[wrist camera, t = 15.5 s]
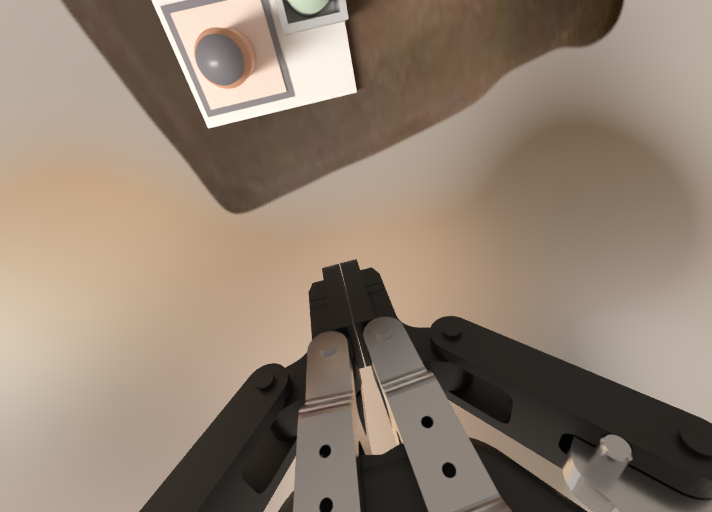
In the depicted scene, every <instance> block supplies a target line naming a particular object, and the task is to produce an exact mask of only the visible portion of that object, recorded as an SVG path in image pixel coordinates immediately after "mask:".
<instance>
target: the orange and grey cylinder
mask: <svg viewBox="0 0 712 512" xmlns="http://www.w3.org/2000/svg"><path fill="white" fill-rule="evenodd" d="M194 57H195V61H196V64H197V67H198V69H199V70H200V72H201V74H202V75H203V76H204V77H205V78H206V79H207V80H208V81H209V82H210V83H212V84H213V85H215V86H217V87H220V88H224V89H232V88H236V87H238V86H240V85H241V84H243V83H244V82H245V80H246V79H247V78H248V77H249V76H250V75H251V73H252V72H253V70H254V68H255V65H256V53H255V50H254V47H253V45H252V43H251V42H250V40H249V39H248V38H247V37H246V36H245V35H244V34H242V33H241V32H239V31H237V30H234V29H228V28H220V27H213V28H208V29H206V30H204V31H203V32H202V33H201V34H200V35H199V36H198V38H197V39H196V42H195V45H194Z"/></svg>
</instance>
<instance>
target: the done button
mask: <svg viewBox="0 0 712 512" xmlns="http://www.w3.org/2000/svg"><path fill="white" fill-rule="evenodd" d="M286 1H287V3H288V5H289V6H290V8H291V9H292V10H293V11H294V12H295V13H297V14H299V15H301V16H304V17H312V16H315V15H317V14H318V13H320V12H321V11H322V9H323V8H324V7H325V5H326V4H327V3H328V1H329V0H286Z"/></svg>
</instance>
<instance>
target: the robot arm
mask: <svg viewBox="0 0 712 512" xmlns="http://www.w3.org/2000/svg"><path fill="white" fill-rule="evenodd" d="M340 265H341V269H342V273H341V270H340V266H339V264H336V265H333V266H329V267H325V268H322V272H323V278H324V280H323V281H319V282H315V283H313V284H312V286H311V288H310V290H309V302H310V303H309V304H310V317H311V331H312V341H311V342H310V344H309V346H308V350H307V353H306V354H305V355H304V356H303V357H302V358H301V359H300V360H298V361H297V362H295V363H293V364H291V365H290V366H288V367H286V368H284V367H283V366H282V365H279V364H274V363H273V364H267V365H264V366H262V367H260V368H259V369H257V370H256V371H255V372H254V373H252V375H251V376H250V377H249V378H248V379H247V381H246V382H245V383H244V384H243V386H242V387H241V388H240V389H239V390H238V392H237V393H236V394H235V395H234V397H233V398H232V399H231V400H230V401H229V403H228V404H227V405H226V406H225V407H224V409H223V410H222V411H221V412H220V414H219V415H218V416H217V417H216V419H215V420H214V421H213V422H212V423H211V425H210V426H209V427H208V429H206V431H205V432H204V433H203V434H202V436H201V437H200V438H199V439H198V441H197V442H196V443H195V444H194V445H193V447H192V448H191V449H190V450H189V452H188V453H187V454H186V455H185V456H184V458H183V459H182V460H181V461H180V462H179V464H178V465H177V466H176V467H175V469H174V470H173V471H172V472H171V474H170V475H169V476H168V477H167V478H166V480H165V481H164V482H163V483H162V485H161V486H160V487H159V488H158V489H157V491H156V492H155V493H154V494H153V496H152V497H151V498H150V499H149V500H148V502H147V503H146V504H145V505H144V506H143V508H142V509H141V510H140V511H139V512H263V511H264V510H265V508H266V506H267V504H268V503H269V501H270V499H271V497H272V496H273V494H274V492H275V491H276V489H277V487H278V485H279V484H280V482H281V480H282V479H283V477H284V475H285V474H286V472H287V470H288V468H289V467H290V465H291V463H292V461H293V460H294V458H295V456H296V467H295V485H294V486H295V487H294V491H293V492H292V493H291V494H290V496H289V497H288V498H287V499H286V501H285V502H284V504H283V505H282V507H281V508H280V510H279V511H278V512H587V511H586V510H584V509H583V508H581V507H580V506H578V505H577V504H576V503H574V502H573V501H571V500H570V499H568V498H567V497H565V496H564V495H562V494H561V493H560V492H558V491H557V490H555V489H554V488H552V487H551V486H549V485H548V484H547V483H545V482H544V481H542V480H540V479H539V478H538V477H536V476H535V475H534V474H532V473H531V472H529V471H528V470H526V469H525V468H523V467H522V466H520V465H519V464H518V463H516V462H515V461H513V460H512V459H510V458H509V457H507V456H506V455H505V454H503V453H502V452H500V451H499V450H497V449H496V448H494V447H492V446H490V445H488V444H486V443H484V442H481V441H479V440H477V439H473V438H469V437H468V436H467V434H466V432H465V430H464V429H463V427H462V425H461V423H460V421H459V419H458V417H457V416H456V414H455V412H454V410H453V408H452V406H451V405H450V403H449V401H448V400H450V401H451V402H453V403H455V404H456V405H458V406H460V407H461V408H463V409H464V410H466V411H468V412H469V413H471V414H473V415H474V416H476V417H478V418H480V419H481V420H483V421H484V422H486V423H487V424H489V425H491V426H492V427H494V428H496V429H497V430H499V431H501V432H503V433H504V434H506V435H507V436H509V437H511V438H512V439H514V440H516V441H517V442H519V443H521V444H522V445H524V446H525V447H527V448H529V449H530V450H532V451H534V452H536V453H537V454H539V455H540V456H542V457H544V458H545V459H547V460H548V461H550V462H552V463H553V464H555V465H557V466H558V467H560V468H562V469H563V474H564V478H565V481H566V483H567V485H568V487H569V489H570V490H571V492H572V493H573V494H574V495H575V497H576V498H578V500H579V501H581V502H582V503H583V504H584V505H586V506H587V507H588V508H589V509H591V510H592V511H593V512H712V424H711V423H709V422H708V421H706V420H704V419H702V418H700V417H697V416H695V415H693V414H690V413H688V412H685V411H683V410H681V409H678V408H676V407H673V406H671V405H669V404H666V403H664V402H662V401H659V400H657V399H654V398H652V397H649V396H647V395H645V394H642V393H640V392H637V391H635V390H633V389H630V388H628V387H625V386H623V385H621V384H618V383H616V382H614V381H611V380H609V379H606V378H604V377H601V376H599V375H596V374H594V373H592V372H590V371H587V370H585V369H582V368H580V367H578V366H575V365H573V364H570V363H568V362H565V361H563V360H561V359H558V358H556V357H554V356H551V355H549V354H546V353H544V352H541V351H539V350H537V349H534V348H532V347H530V346H527V345H525V344H522V343H520V342H517V341H515V340H513V339H510V338H508V337H505V336H503V335H501V334H498V333H496V332H493V331H491V330H489V329H486V328H484V327H482V326H479V325H477V324H474V323H472V322H470V321H467V320H465V319H462V318H459V317H455V316H446V317H442V318H440V319H438V320H436V321H435V322H434V323H433V324H432V326H431V328H416V327H411V326H408V325H406V324H404V323H402V322H401V321H400V320H399V319H398V318H397V316H396V314H395V311H394V309H393V306H392V304H391V301H390V299H389V296H388V294H387V291H386V289H385V287H384V284H383V281H382V279H381V276H380V274H379V273H378V272H377V271H375V270H374V269H373V268H368V269H364V270H360V269H359V266H358V262H357V260H356V259H355V260H351V261H348V262H344V263H340ZM342 274H343V277H342ZM343 278H344V281H343ZM344 282H345V284H344ZM345 286H346V288H345ZM356 332H357V333H356ZM357 335H358V337H357ZM358 338H359V341H358ZM359 342H360V345H359ZM360 346H361V349H362V353H363V357H364V360H365V363H366V366H370V365H371V367H372V370H373V374H374V378H375V381H376V385H377V388H378V391H379V394H380V397H381V399H382V402H383V405H384V408H385V411H386V414H387V417H388V420H389V423H390V425H391V428H392V431H393V434H394V437H395V440H396V444H397V446H396V447H394V448H393V449H391V450H389V451H388V452H386V453H384V454H382V455H372V452H371V448H370V443H369V436H368V428H367V421H366V413H365V405H364V397H363V390H362V386H361V385H362V380H361V375H360V371H359V369H360V368H364V362H363V358H362V354H361V350H360Z"/></svg>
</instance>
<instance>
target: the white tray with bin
mask: <svg viewBox="0 0 712 512" xmlns="http://www.w3.org/2000/svg"><path fill="white" fill-rule="evenodd" d="M152 2H153V5H154V7H155V9H156V11H157V14H158V16H159V18H160V20H161V23H162V25H163V27H164V30H165V32H166V34H167V36H168V39H169V41H170V43H171V45H172V48H173V50H174V52H175V54H176V57H177V59H178V61H179V63H180V66H181V68H182V70H183V72H184V75H185V77H186V79H187V82H188V84H189V86H190V88H191V91H192V93H193V95H194V97H195V100H196V102H197V104H198V106H199V109H200V111H201V113H202V115H203V118H204V120H205V122H206V124H207V127H208V128H212V127H216V126H220V125H224V124H228V123H232V122H236V121H241V120H245V119H249V118H253V117H257V116H261V115H265V114H269V113H274V112H278V111H282V110H286V109H290V108H294V107H298V106H302V105H307V104H311V103H315V102H319V101H323V100H327V99H331V98H335V97H340V96H344V95H348V94H352V93H356V92H357V90H356V84H355V78H354V73H353V67H352V61H351V55H350V49H349V43H348V37H347V31H346V26H345V21H346V20H348V19H349V18H348V12H347V6H346V0H329V1H328V3H327V4H326V5H325V7H324V8H323V9H322V11H321V12H320V13H318V14H317V15H315V16H312V17H304V16H301V15H299V14H297V13H295V12H294V11H293V10H292V9H291V8H290V6H289V5H288V3H287V1H286V0H152ZM213 27H220V28H228V29H234V30H237V31H239V32H241V33H242V34H244V35H245V36H246V37H247V38H248V39H249V40H250V42H251V43H252V45H253V47H254V50H255V53H256V65H255V68H254V70H253V72H252V73H251V75H250V76H249V77H248V78H247V79H246V80H245V82H244V83H243V84H241V85H240V86H238V87H236V88H232V89H224V88H220V87H217V86H215V85H213V84H212V83H210V82H209V81H208V80H207V79H206V78H205V77H204V76H203V75H202V74H201V72H200V70H199V69H198V67H197V64H196V61H195V57H194V45H195V42H196V39H197V38H198V36H199V35H200V34H201V33H202V32H203V31H204V30H206V29H208V28H213Z"/></svg>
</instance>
